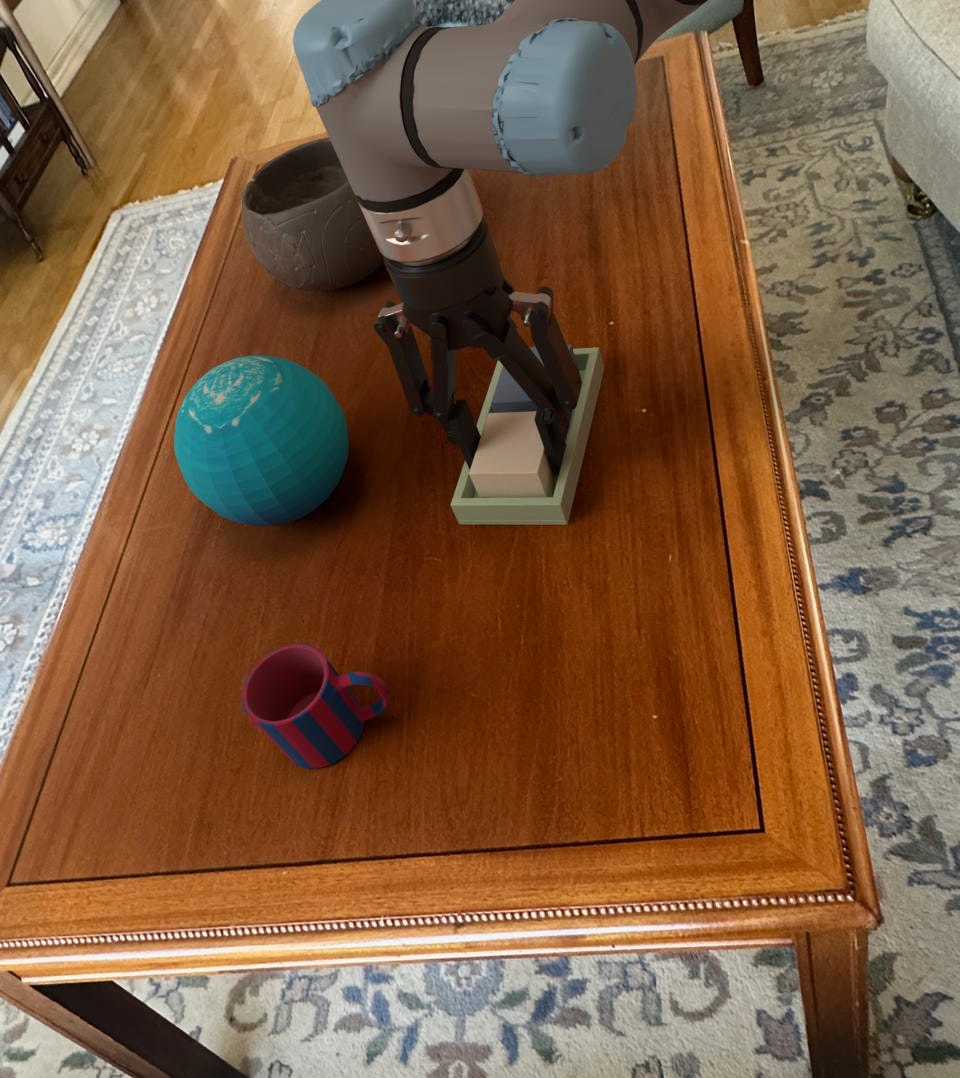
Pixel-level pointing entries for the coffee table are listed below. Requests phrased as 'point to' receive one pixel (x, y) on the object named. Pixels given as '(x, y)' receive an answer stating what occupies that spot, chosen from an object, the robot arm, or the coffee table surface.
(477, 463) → the beige block
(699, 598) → the coffee table surface
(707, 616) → the coffee table surface
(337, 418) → the decorative orb
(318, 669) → the mug
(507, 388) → the blue rectangular block
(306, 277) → the bowl
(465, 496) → the tray
